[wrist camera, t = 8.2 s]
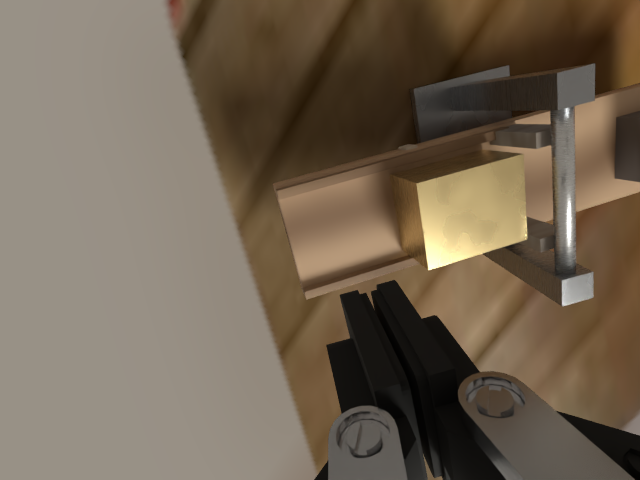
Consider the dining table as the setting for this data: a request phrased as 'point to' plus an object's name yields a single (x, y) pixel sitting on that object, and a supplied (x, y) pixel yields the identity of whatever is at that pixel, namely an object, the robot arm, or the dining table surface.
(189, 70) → the dining table surface
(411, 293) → the dining table surface
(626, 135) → the beam
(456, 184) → the block
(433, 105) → the stand
